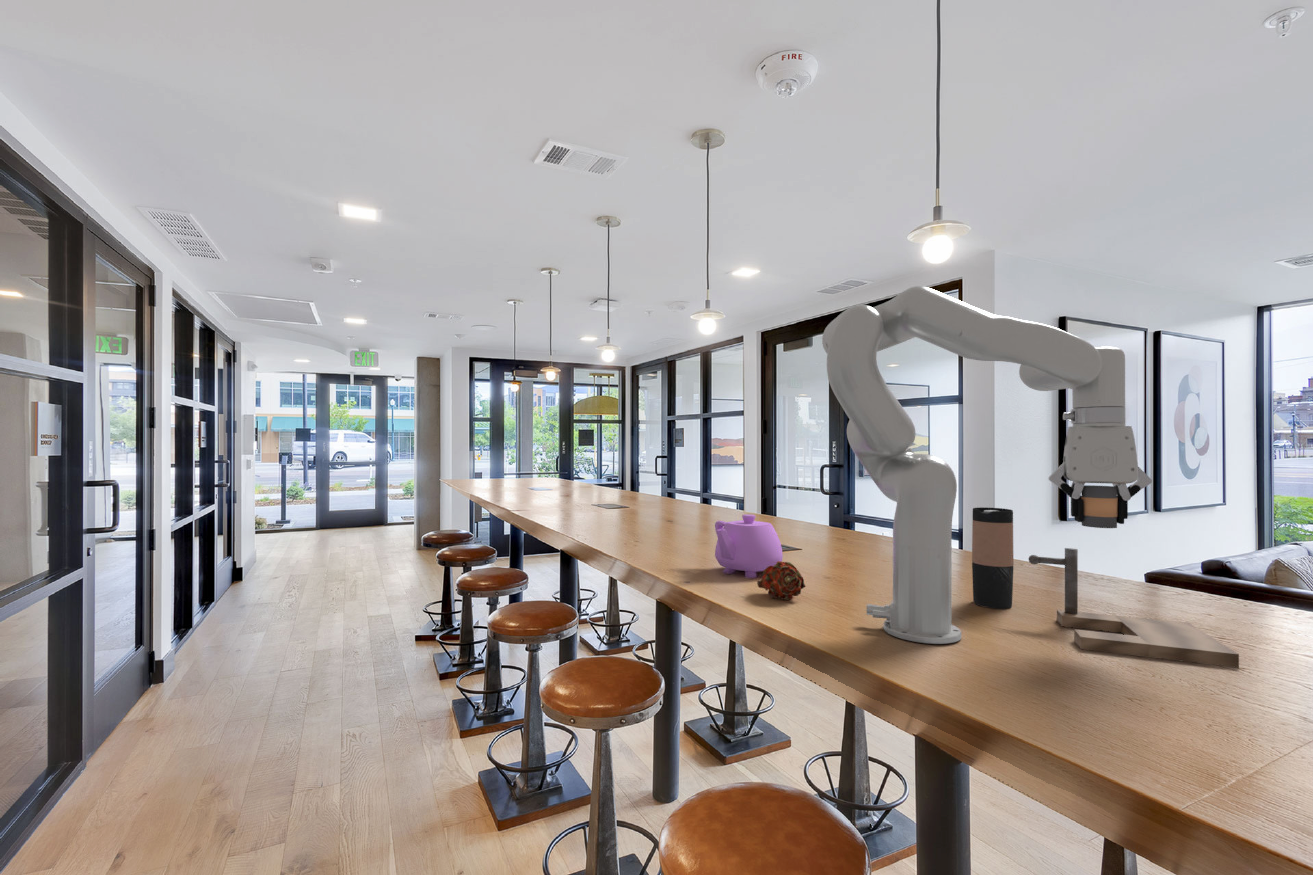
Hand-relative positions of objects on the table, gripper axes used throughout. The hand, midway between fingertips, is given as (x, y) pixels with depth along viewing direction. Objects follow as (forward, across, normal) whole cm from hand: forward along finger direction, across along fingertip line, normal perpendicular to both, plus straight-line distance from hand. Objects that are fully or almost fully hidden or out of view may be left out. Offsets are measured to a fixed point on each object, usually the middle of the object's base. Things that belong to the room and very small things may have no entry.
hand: (1098, 520), depth 106 cm
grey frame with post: (+20, +3, 0) cm, 20 cm away
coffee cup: (+1, 0, 0) cm, 1 cm away
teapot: (+20, -72, +25) cm, 79 cm away
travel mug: (+20, -15, +17) cm, 30 cm away
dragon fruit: (+20, -57, +4) cm, 60 cm away
